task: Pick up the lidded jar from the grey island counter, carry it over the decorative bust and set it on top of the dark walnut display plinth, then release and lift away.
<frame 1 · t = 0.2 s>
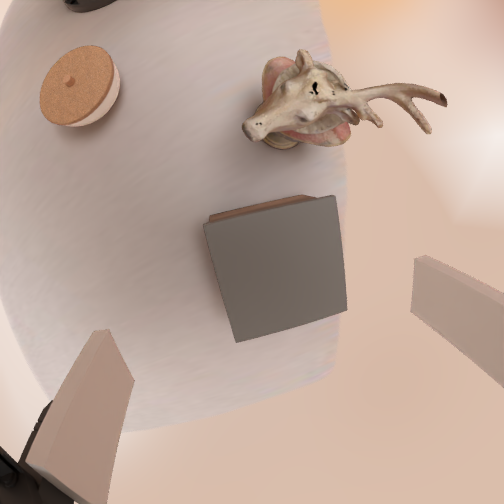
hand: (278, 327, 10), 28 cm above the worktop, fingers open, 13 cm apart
decorative bust: (269, 124, 34), on the worktop
display plinth: (266, 249, 38), on the worktop
lidded jar: (96, 97, 29), on the worktop
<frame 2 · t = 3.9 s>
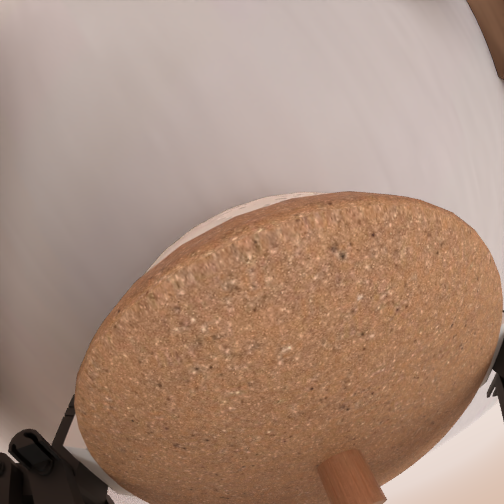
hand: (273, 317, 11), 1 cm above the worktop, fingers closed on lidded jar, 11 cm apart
display plinth: (503, 34, 9), on the worktop
lidded jar: (267, 304, 12), on the worktop, touching gripper
when the fingers open (13 cm above the worktop, at t = 12.2 s): lidded jar drops 2 cm, resting on display plinth.
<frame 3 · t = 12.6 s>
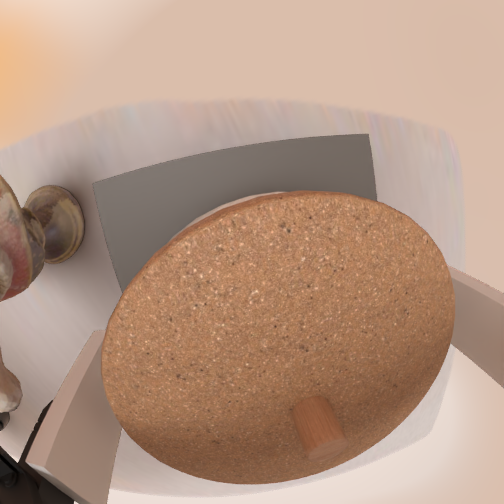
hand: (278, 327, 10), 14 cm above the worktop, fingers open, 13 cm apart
decorative bust: (58, 240, 21), on the worktop
display plinth: (240, 242, 23), on the worktop
lidded jar: (258, 289, 14), point 10 cm above the worktop, touching display plinth
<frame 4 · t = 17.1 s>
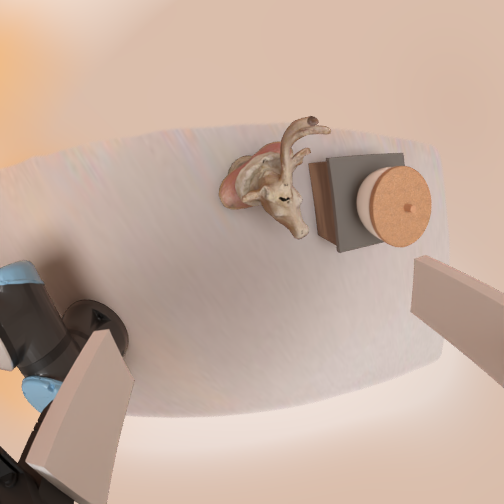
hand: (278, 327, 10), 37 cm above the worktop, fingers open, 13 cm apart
decorative bust: (251, 186, 45), on the worktop
display plinth: (345, 194, 47), on the worktop
lidded jar: (373, 200, 38), point 10 cm above the worktop, touching display plinth
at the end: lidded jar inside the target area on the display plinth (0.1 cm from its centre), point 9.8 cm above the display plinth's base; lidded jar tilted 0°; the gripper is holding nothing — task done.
